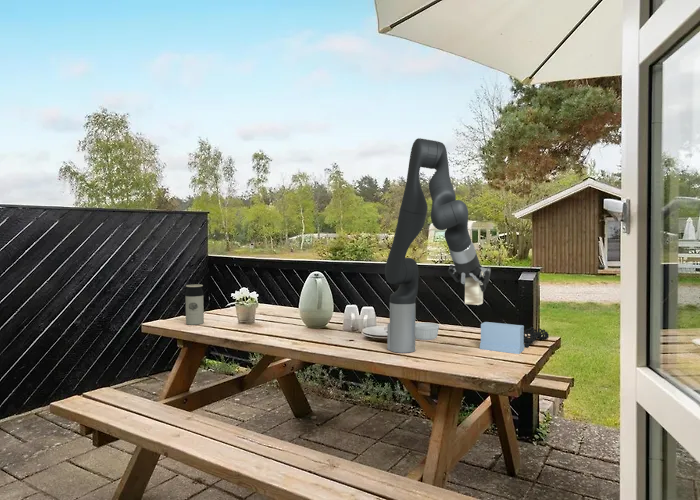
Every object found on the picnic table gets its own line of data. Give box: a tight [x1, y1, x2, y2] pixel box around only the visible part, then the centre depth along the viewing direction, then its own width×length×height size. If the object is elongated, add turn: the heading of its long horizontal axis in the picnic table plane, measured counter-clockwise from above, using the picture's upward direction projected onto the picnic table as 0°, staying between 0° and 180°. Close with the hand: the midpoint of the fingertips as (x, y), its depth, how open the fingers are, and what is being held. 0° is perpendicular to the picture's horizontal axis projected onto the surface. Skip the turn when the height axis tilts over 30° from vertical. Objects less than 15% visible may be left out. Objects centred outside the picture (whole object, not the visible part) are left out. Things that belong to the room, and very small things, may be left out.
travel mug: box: [184, 283, 205, 326], centre depth 233 cm, size 8×8×18 cm
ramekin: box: [415, 321, 440, 341], centre depth 202 cm, size 11×11×5 cm
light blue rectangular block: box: [479, 321, 525, 355], centre depth 181 cm, size 14×7×9 cm, turn 57°
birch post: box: [464, 271, 484, 306], centre depth 163 cm, size 4×4×11 cm
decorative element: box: [524, 326, 549, 349], centre depth 191 cm, size 22×5×6 cm, turn 136°
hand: (475, 288), depth 165 cm, fingers closed on birch post, 4 cm apart
